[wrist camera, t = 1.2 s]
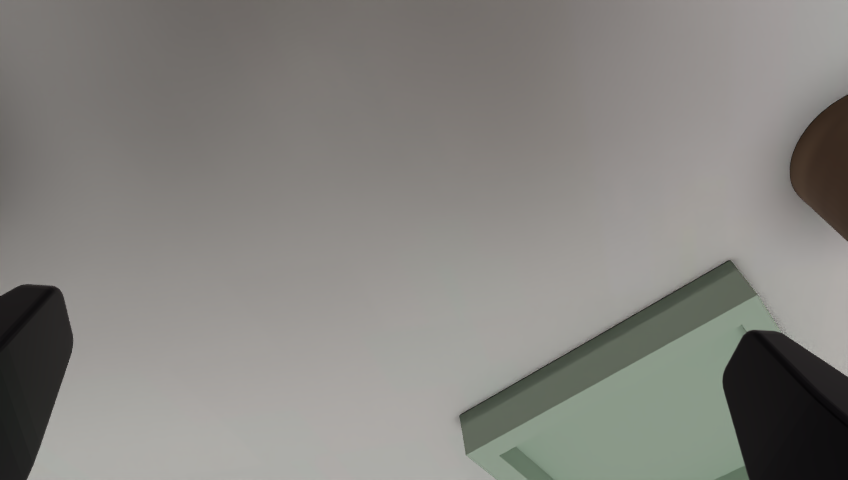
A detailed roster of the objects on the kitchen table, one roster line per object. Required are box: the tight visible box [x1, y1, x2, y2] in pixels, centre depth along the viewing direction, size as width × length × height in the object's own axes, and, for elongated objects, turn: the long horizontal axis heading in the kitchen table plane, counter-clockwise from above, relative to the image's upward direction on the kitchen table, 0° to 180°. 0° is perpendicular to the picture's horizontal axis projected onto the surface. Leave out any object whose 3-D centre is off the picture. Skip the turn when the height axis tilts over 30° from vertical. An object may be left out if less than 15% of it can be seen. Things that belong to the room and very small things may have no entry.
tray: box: [460, 260, 781, 480], centre depth 29 cm, size 13×13×2 cm
